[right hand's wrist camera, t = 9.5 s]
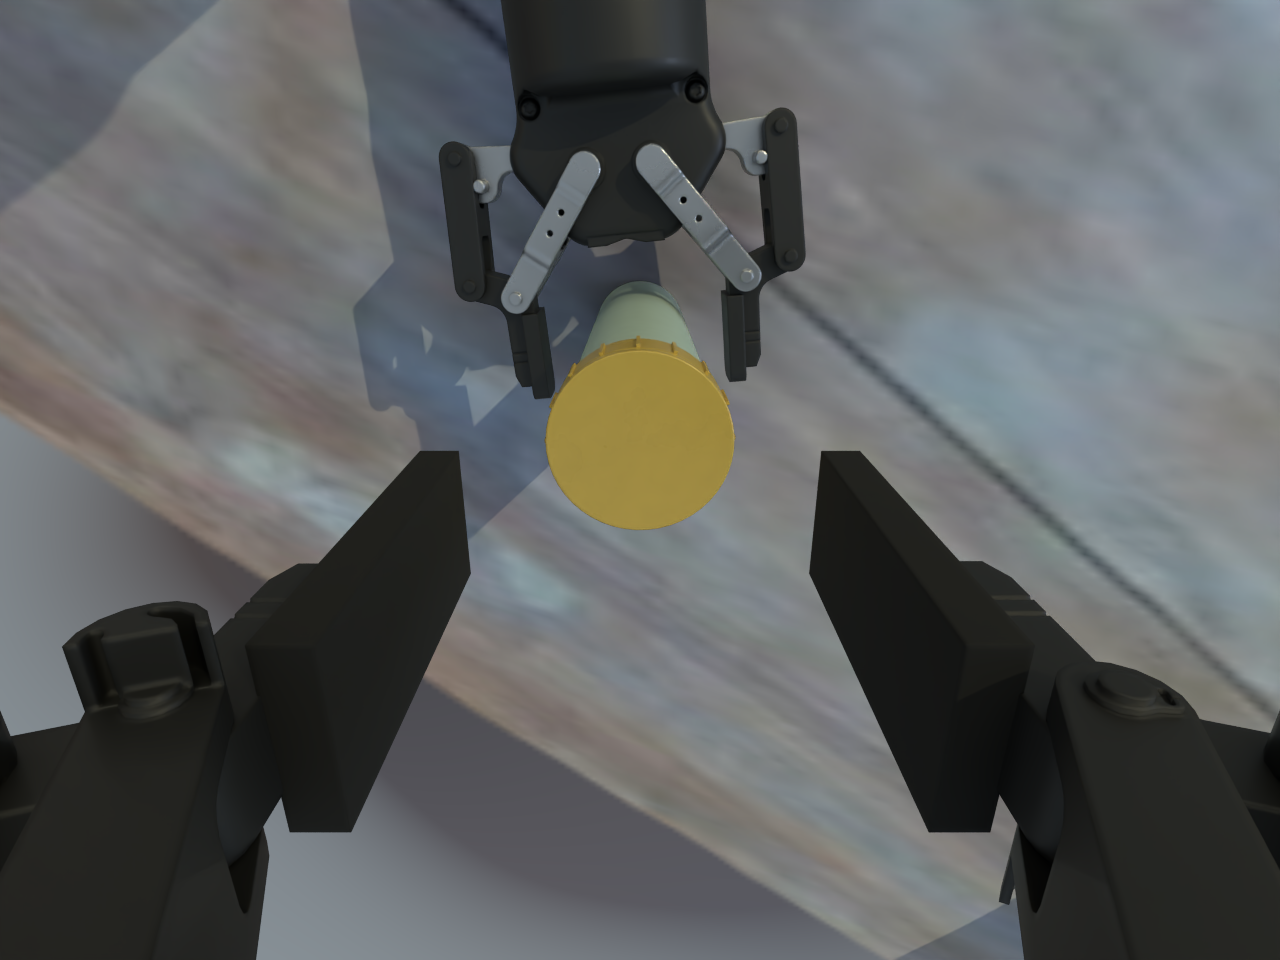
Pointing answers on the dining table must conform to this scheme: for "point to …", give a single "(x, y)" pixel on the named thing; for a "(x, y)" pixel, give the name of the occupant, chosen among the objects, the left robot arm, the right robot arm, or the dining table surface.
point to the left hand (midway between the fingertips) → (640, 386)
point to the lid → (639, 434)
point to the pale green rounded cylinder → (639, 318)
